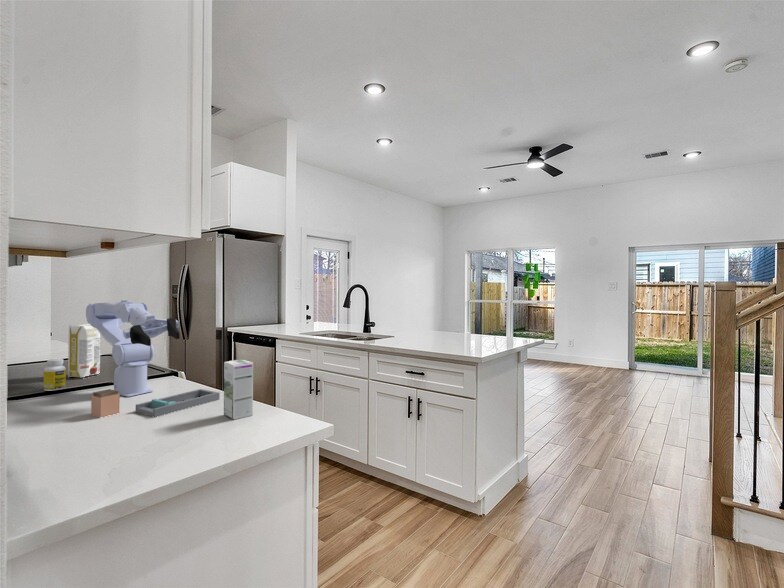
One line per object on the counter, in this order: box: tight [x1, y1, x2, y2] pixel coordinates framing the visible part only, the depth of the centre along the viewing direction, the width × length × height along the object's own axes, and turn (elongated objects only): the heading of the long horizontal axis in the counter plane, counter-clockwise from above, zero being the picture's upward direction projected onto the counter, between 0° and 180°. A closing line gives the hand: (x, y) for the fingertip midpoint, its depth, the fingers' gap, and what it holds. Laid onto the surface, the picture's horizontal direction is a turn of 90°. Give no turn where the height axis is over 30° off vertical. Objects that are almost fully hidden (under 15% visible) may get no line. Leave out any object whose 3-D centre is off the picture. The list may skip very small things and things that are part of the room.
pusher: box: [151, 398, 178, 409], centre depth 112 cm, size 6×5×2 cm
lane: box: [135, 388, 221, 418], centre depth 116 cm, size 8×20×2 cm, turn 153°
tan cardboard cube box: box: [90, 388, 121, 418], centre depth 106 cm, size 4×4×6 cm
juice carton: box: [67, 323, 101, 377], centre depth 148 cm, size 8×9×19 cm
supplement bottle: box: [43, 358, 67, 389], centre depth 128 cm, size 5×5×10 cm
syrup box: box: [223, 359, 254, 420], centre depth 108 cm, size 6×6×14 cm
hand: (164, 339), depth 115 cm, fingers open, 7 cm apart
